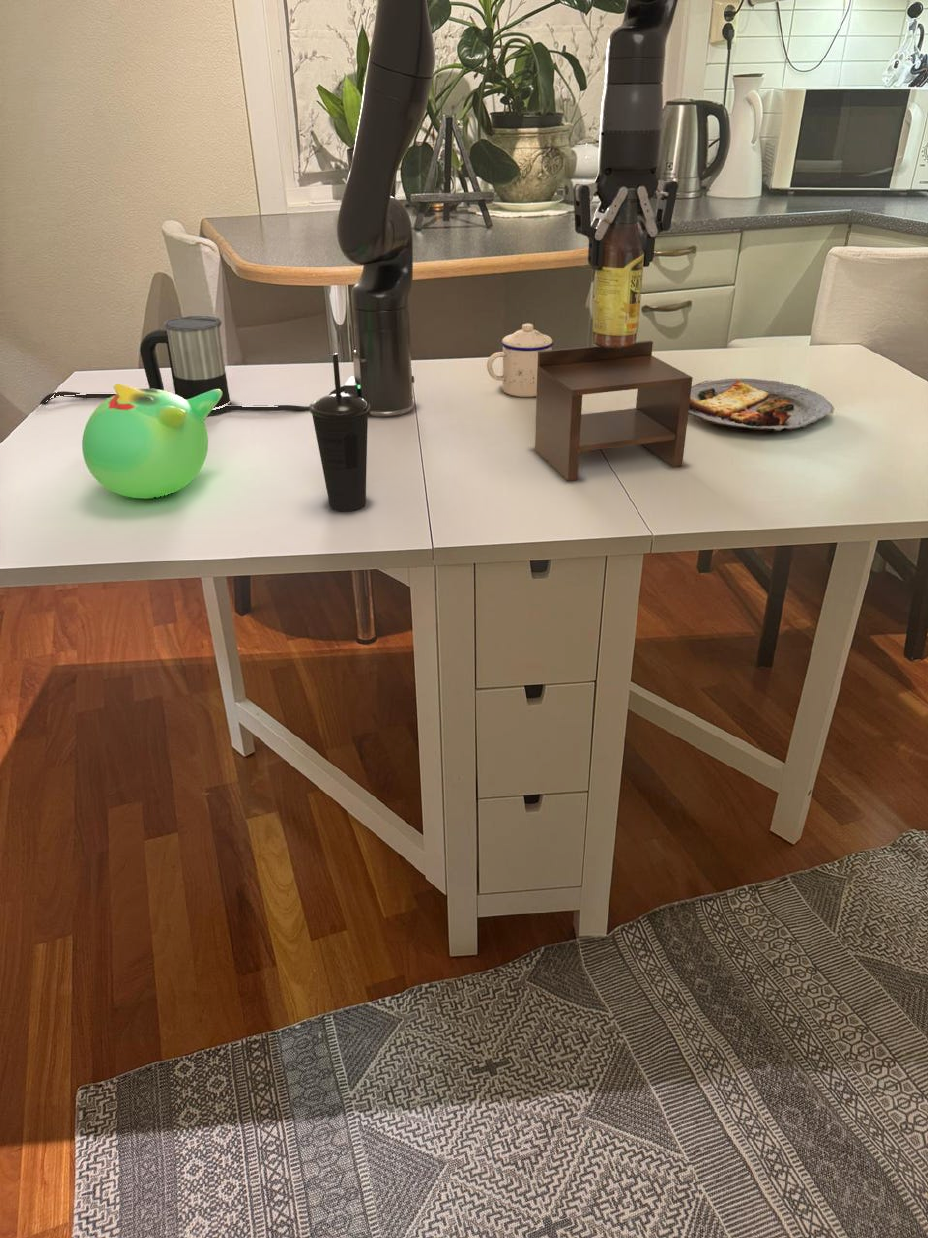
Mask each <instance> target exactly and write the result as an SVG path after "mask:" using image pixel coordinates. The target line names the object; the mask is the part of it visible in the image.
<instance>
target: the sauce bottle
mask: <svg viewBox="0 0 928 1238" xmlns="http://www.w3.org/2000/svg"><path fill="white" fill-rule="evenodd" d="M627 190H628V193H627V195H626V197H625V199H624V201H623V202H622V207H621V209H622V210H621V212H620V215H618V216H615V218H614V220H613V222H612V223H611V224H610V225H609V226H608V228H607V230H606V232H605V234H604V236H603V238H602V240H603V241H604V255H603V268H602V270H597V271H596V270H595V281H594V284H595V285H594V297H593V300H594V301H593V315H592V342H593V344H594V345H595V346H600V347H605V348H623V347H629V346H632V345H634V344H635V342H637V335H638V332H639V321H640V319H639V318H640V308H641V298H642V287H643V286H642V285H643V273H644V267H643V263H644V250H643V246H642V242H641V238H640V236H641V234H640V230H639V229H640V228H639V224H638V219H637V215H638V214H637V210H636V203H637V201H638V200H637V196H636V191H635V190H636V189H634V188H633V189H627Z"/></svg>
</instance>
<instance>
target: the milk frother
mask: <svg viewBox="0 0 928 1238" xmlns="http://www.w3.org/2000/svg"><path fill="white" fill-rule="evenodd" d="M222 323H223V322H222V320H221V319H220V318H219V317H215V316H208V315H206V316H205V315H203V316H202V315H191V316H182V317H175V318H171V319H168V320H166V321H165V322H163V326H164V327H165V328H161V329H160V328H159V329H155V330H152V331H149V332H148V333H147V334H146V335H145V336H144V338H143V339H142V340H141V343H140V346H139V347H140V348H139V350H140V357H141V361H142V365H143V369H144V372H145V378H146V380H147V384H148V388H153V389H158V390H163V391H165V386H164V382H163V378H162V374H161V368H160V365H159V359H158V356H157V350H156V346H157V345H158V344H166V347H167V354H168V359H169V360H168V361H169V365H170V366H169V367H170V371H171V378H172V384H173V390H174V394H175V395H178V396H180V397H182V398H183V399H185V400H187V399H191V398H193V397H196V396H198V395H200V394H203V393H205V392H208V391H211V390H214V389H220V390H221V391H222V397H221V398H220V400H219V401H218V403H217V404H216V405H215V407H219V406H222V405H224V404H226V403H228V402H229V401H231V396H230V391H229V386H228V385H229V384H228V379H227V371H226V364H225V363H226V362H225V356H224V349H223V343H222V342H223V341H222V340H223V339H222V333H221V326H222ZM228 405H233V403H232V401H231V402H230V404H228ZM215 407H214V408H215ZM228 411H229V410H228V409H227V408H226V406H225V407H223V408H220V409H216V410H211V412H210V413H209V414H208V415H207V417H209V416H215V415H219V414H223V413H226V412H228Z"/></svg>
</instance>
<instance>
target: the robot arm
mask: <svg viewBox="0 0 928 1238" xmlns="http://www.w3.org/2000/svg"><path fill="white" fill-rule="evenodd" d="M678 1H679V0H626V5H625V9H624V13H623V20H622V23H621V25H620V26H619V27H617V28H615V29H613V30H612V32H611V33H610V34H609V37H608V40H607V46H606V58H605V73H604V74H605V75H604V86H603V95H602V100H601V107H600V123H599V124H600V126H599V141H598V156H597V170H598V172H597V175H596V178H595V180H594V182H589V183H584V184H583V183H575V184H574V185H573V188H572V190H573V191H572V192H573V193H572V194H573V195H572V196H573V214H574V215H573V216H574V230H575V233H576V234H579V235H582V236H584V237H587V239H588V248H587V249H588V252H587V263H588V265H590V268H591V269H592V270H594V271H595V272H596V271H597V270H602V268H603V255H604V241H603V240H602V238H603V236H604V234H605V232H606V230H607V228H608V226H609V225H610V224H611V223H612V222H613V220H614V218H615V216H618V215H620V212H621V210H622V209H621V207H622V202H623V201H624V199H625V197H626V195H627V193H628V190H627V189H633V188H634V189H636V190H635V191H636V196H637V200H638V201H637V203H636V210H637V214H638V215H637V219H638V222H637V224H638V228H639V229H640V232H641V234H640V238H641V242H642V246H643V250H644V263H643V268H648V267H649V266H650V264H651V263H652V262H653V260H654V256H655V247H656V246H655V245H656V237H657V236H658V235H659V234H660V233H662V232H668V231H669V230H670V228H671V225H672V220H673V214H674V209H675V205H676V199H677V194H678V189H679V183H678V181H675V180H671V179H667V178H665V179H663V180H660V179H658V176H657V168H658V164H659V154H660V145H661V144H660V143H661V133H662V124H663V109H664V95H663V94H664V92H663V91H664V90H663V89H664V84H663V83H664V74H665V66H666V65H665V64H666V51H667V50H666V49H667V47H666V45H667V40H668V37H669V34H670V31H671V28H672V24H673V21H674V17H675V14H676V10H677V5H678ZM430 18H431V17H430V13H429V7H428V0H377V4H376V11H375V17H374V25H373V26H374V27H373V33H372V38H371V39H372V40H371V44H370V49H369V54H368V60H367V65H366V66H367V67H366V72H365V78H364V84H363V85H364V86H363V93H362V102H361V107H360V108H361V109H360V113H359V114H360V115H359V119H358V125H357V129H356V136H355V142H354V143H355V144H354V149H353V154H352V160H351V165H350V168H349V169H350V170H349V172H348V176H347V180H346V183H345V184H346V185H345V188H344V192H343V196H342V200H341V204H340V207H339V211H338V216H337V224H336V236H337V242H338V245H339V248H340V250H341V252H342V254H343V255H344V257H345V258H346V259H347V260H348V261H349V262H351V263H353V264H355V265H359V266H362V265H363V266H362V270H361V273H360V276H359V278H358V280H357V281H356V282H355V284H354V285H353V286H352V289H351V291H350V297H351V298H350V299H351V308H352V310H351V311H352V325H353V339H354V350H353V351H352V361H353V372H354V373H353V376H349V377H348V379H347V380H346V382H345V383H344V385H341V393H344V394H351V395H354V396H357V397H360V398H363V399H366V400H367V401H368V402H369V403H370V409H369V410H368V417H370V416H371V417H395V416H401V415H404V414H408V413H409V412H411V411H413V409H414V395H413V384H415V376H413V374H412V353H411V350H412V348H411V327H410V325H411V324H410V306H409V305H410V303H409V302H410V301H409V298H410V297H409V296H410V291H411V288H412V285H413V277H414V276H413V275H414V267H413V266H414V262H413V261H414V238H413V236H414V235H413V226H412V221H411V217H410V215H409V212H408V210H407V208H406V207H405V205H404V204H403V202H401V201H400V200H399V199H397V198H396V197H393V196H392V194H393V187H394V183H395V179H396V176H397V173H398V170H399V168H400V165H401V164H402V161H403V159H404V158H405V155H406V154H407V152H408V150H409V148H410V147H411V144H413V143H412V142H413V141H414V139H415V138H416V135H417V133H418V132H419V129H420V127H421V125H422V124H423V123H422V122H423V120H424V117H425V114H426V111H427V108H428V105H429V99H430V94H431V88H432V84H433V79H434V75H435V74H434V73H435V66H436V50H435V41H434V35H433V29H432V24H431V19H430ZM655 192H656V197H657V203H656V210H655V213H654V211H653V209H652V205H651V203H650V200H651V198H652V197H653V195H654V194H655ZM595 194H596V196H597V197H598V199H599V201H600V202H599V203H598V205H597V207H596V209H595V212H594V214H593V220H591V219H592V218H591V217H592V216H591V202H593V199H594V195H595ZM56 392H57V393H56ZM80 393H81V392H76V391H54V392H51V393H49V394H47V395H46V396H44V397H43V398H42V399H41V401H40V403H39V405H47V404H48V403H50V401H51V400H53V399H56V398H57V397H56V396H59V395H60V396H63V397H64V398H65V397H67V398H76V399H108V398H110V397H112V396H114V395H116V394H86V395H76V394H80ZM54 394H55V395H54ZM331 394H336V390H335V389H333V390H332V391H330V392H329V394H328V395H331ZM53 395H54V398H51V397H52V396H53ZM64 395H75V396H64ZM63 397H62V398H63ZM50 398H51V399H50ZM47 400H48V401H47ZM46 401H47V402H46ZM273 405H274V406H278V407H242V406H226V408H227V409H228V411H243V412H245V411H247V412H278V411H279V412H281V411H289V412H290V411H293V412H307V411H309V406H303V405H296V404H295V405H293V404H273ZM309 412H310V411H309Z"/></svg>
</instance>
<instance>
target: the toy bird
mask: <svg viewBox="0 0 928 1238" xmlns="http://www.w3.org/2000/svg"><path fill="white" fill-rule="evenodd" d="M113 389H114V391H115V393H117V394H116V395H114V396H112V397H110V398H106V399H105V400H104V401H103V402H101V403H100V404H99V405H98V406H97V407H96V408H95V409H94V411H93V412H92V413H91V415H90V416H89V418H88V420H87V422H86V424H85V427H84V430H83V436H82V441H81V442H82V444H81V447H82V448H81V449H82V450H81V451H82V455H83V456H82V457H83V459H84V463H85V465H86V467H87V469H88V471H89V473H90V474H91V475H92V477H93V478H94V480H96V481H97V482H98V483H99V484H100V485H101V486H103V487H104V488H106V489H107V490H109V491H111V492H113V493H115V494H118V495H120V496H123V497H127V498H133V499H155V498H154V497H156V498H161V497H162V498H163V497H165V496H168V494H169V495H171V493H172V494H174V493H177V492H178V491H180V490H182V489H183V488H185V487H186V486H188V485H189V484H190V483H191V482H192V481H193V480H194V479H196V477H197V475H198V474H199V473H200V471H201V469H202V467H203V465H204V463H205V461H206V459H207V458H206V457H207V453H208V447H209V435H208V430H207V426H206V424H205V420H206V418H207V417H208V416H207V415H208V414H209V413H210V412H211V410H212V409H213V408H214V407H215V405H216V404H217V403H218V401H219V400H220V398H221V397H222V391H221V390H220V389H214V390H211V391H208V392H205V393H203V394H200V395H198V396H196V397H193V398H191V399H187V400H185V399H183V398H182V397H180V396H178V395H175V393H172V392H170V391H167V390H164V391H163V390H158V389H153V388H149V387H148V388H135V387H134V386H133V387H132V386H129V385H126V384H123V383H116V384H114V385H113ZM164 495H165V496H164ZM160 496H161V497H160Z"/></svg>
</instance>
